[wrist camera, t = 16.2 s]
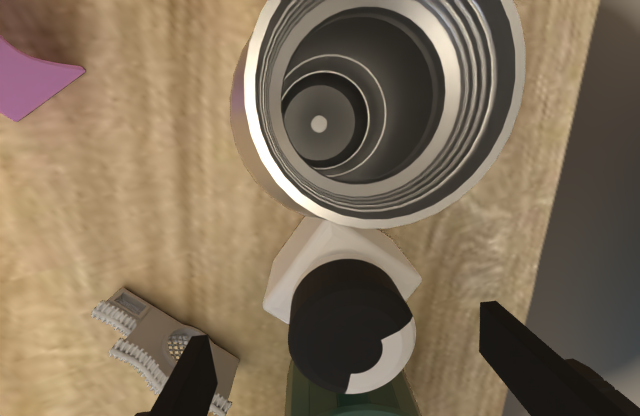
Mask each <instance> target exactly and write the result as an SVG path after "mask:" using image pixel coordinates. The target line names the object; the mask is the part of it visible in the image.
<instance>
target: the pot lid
mask: <svg viewBox="0 0 640 416" xmlns="http://www.w3.org/2000/svg"><path fill="white" fill-rule="evenodd" d="M318 416H413V415H411V414H409V413H407V412H405V411H402V410H400V409H397V408H394V407H390V406H385V405H379V404H353V405H347V406H342V407H338V408H335V409H331V410H329V411H326V412H324V413H321V414H319V415H318Z"/></svg>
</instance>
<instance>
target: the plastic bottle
mask: <svg viewBox="0 0 640 416" xmlns="http://www.w3.org/2000/svg"><path fill="white" fill-rule="evenodd" d="M524 82H525V42H524V37H523V32H522V27H521V21H520V17H519V14H518V12H517V9H516V7H515V4H514V2H513V0H268V1H267V3H266V4H265V6H264V8H263V10H262V11H261V13H260V16H259V18H258V21H257V24H256V27H255V29H254V31H253V33H252V35H251V36H250V38H249V40H248V42H247V43H246V45H245V47H244V48H243V50H242V52H241V55H240V58H239V61H238V63H237V66H236V69H235V72H234V75H233V81H232V87H231V94H230V122H231V127H232V131H233V136H234V140H235V145H236V147H237V149H238V152H239V154H240V156H241V159H242V161H243V163H244V166H245V167H246V168H247V170H248V171H249V173H250V174H251V176H252V177H253V179H254V180H255V182H256V183H257V184H258V185H259V186H260V187H261V188H262V189H263V190H264V191H265V192H266V193H267V194H268V195H269V196H270V197H271V198H273V199H274V200H276V201H277V202H279V203H280V204H282V205H283V206H285V207H286V208H288V209H290V210H292V211H295V212H297V213H300V214H302V215H305V216H308V217H313V218H319V219H324V220H329V221H332V222H334V223H337V224H340V225H345V226H350V227H356V228H361V229H386V228H393V227H397V226H402V225H407V224H412V223H415V222H417V221H420V220H422V219H424V218H427V217H429V216H432V215H434V214H437V213H438V212H440V211H441V210H443V209H445V208H446V207H448V206H449V205H451V204H452V203H454V202H456V201H457V200H459V199H460V198H461V197H462V196H463V195H464V194H465V193H467V192H468V191H469V190H470V189H471V188H472V187H473V186H474V185H475V184H477V183H478V182H479V181H480V179H481V178H482V177H483V176H484V174H485V173H486V172H487V171H488V169H489V168H490V167H491V166H492V164H493V163H494V162H495V161H496V159H497V157H498V156H499V154H500V152H501V150H502V148H503V147H504V145H505V143H506V141H507V139H508V138H509V136H510V134H511V131H512V128H513V126H514V123H515V120H516V117H517V114H518V111H519V109H520V105H521V100H522V94H523V88H524Z"/></svg>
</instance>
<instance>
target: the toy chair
mask: <svg viewBox="0 0 640 416" xmlns="http://www.w3.org/2000/svg"><path fill="white" fill-rule="evenodd" d="M84 72H85V70H84V69H83V67H81V66H75V65H68V64H61V63H55V62H50V61H46V60H41V59H38V58H35V57H32V56H29V55H27V54H25V53H23V52H21V51H19V50H18V49H16V48H15V47H14V46H12V45H11V44H10V43H8V42H7V41H6V40H5V39H4V38H3V37H2V36H1V35H0V113H1V114H3V115H5V116H7V117H8V118H10V119H12V120H13V121H16V122H17V121H19V120H21V119H22V118H23V117H25V116H26V115H28V114H29V113H30V112H32V111H33V110H34V109H36V108H37V107H38V106H40V105H41V104H43V103H44V102H45V101H47V100H48V99H49V98H51V97H52V96H53V95H55V94H56V93H58V92H59V91H60V90H62V89H63V88H64V87H66V86H67V85H68V84H70V83H71V82H72V81H74V80H75V79H77V78H78V77H79V76H81V75H82V74H83V73H84Z"/></svg>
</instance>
